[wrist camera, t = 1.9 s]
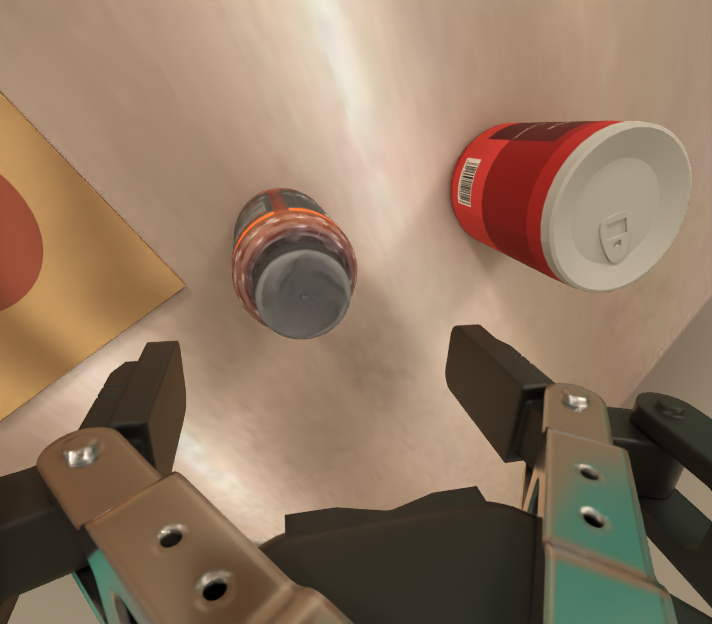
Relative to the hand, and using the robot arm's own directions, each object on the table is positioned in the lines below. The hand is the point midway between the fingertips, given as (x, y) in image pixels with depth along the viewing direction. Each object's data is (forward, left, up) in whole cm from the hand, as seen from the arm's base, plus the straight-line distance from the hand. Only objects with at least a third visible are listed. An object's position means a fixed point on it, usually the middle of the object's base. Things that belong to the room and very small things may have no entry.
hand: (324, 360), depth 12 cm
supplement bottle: (0, 0, -17) cm, 17 cm away
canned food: (+14, -6, -17) cm, 23 cm away
